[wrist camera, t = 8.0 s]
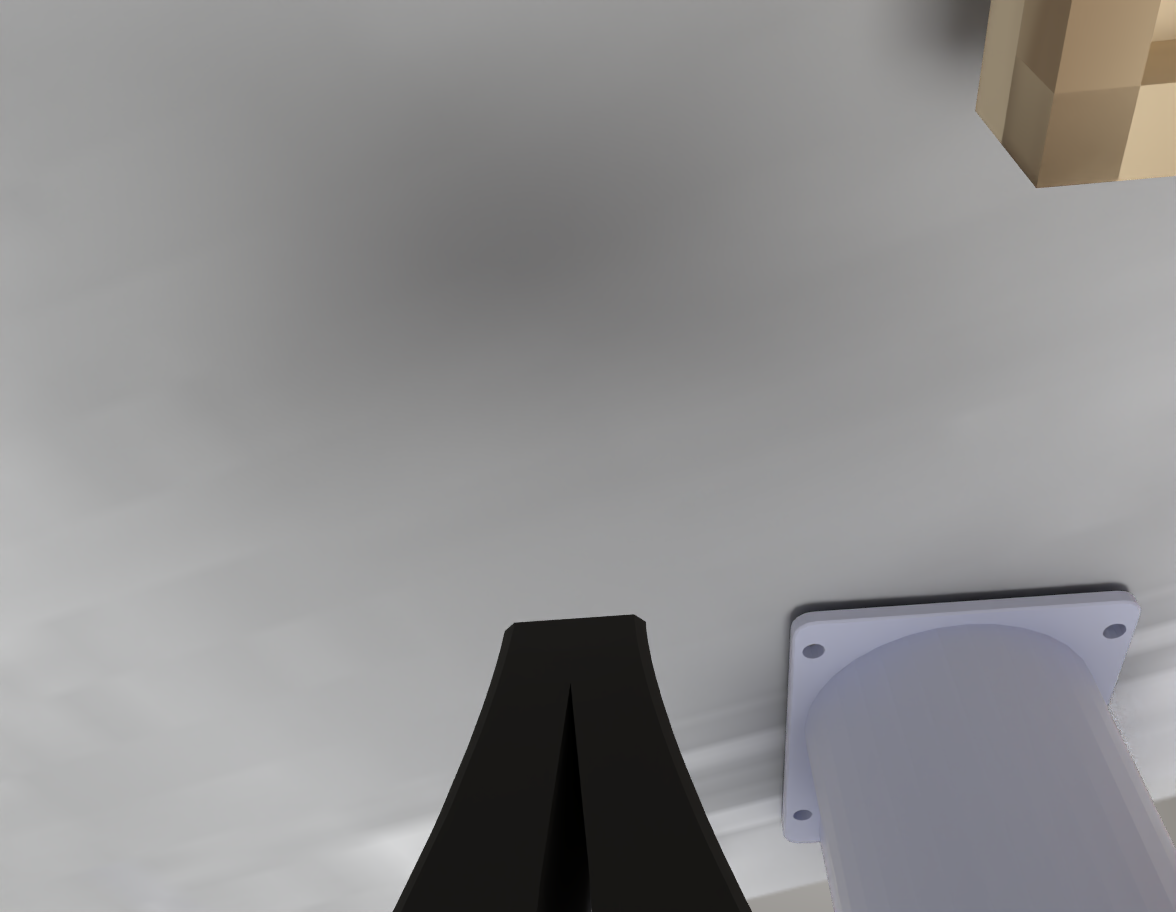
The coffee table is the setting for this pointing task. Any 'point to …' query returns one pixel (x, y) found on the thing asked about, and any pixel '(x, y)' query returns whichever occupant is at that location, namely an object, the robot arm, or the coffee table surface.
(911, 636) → the robot arm
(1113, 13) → the tan wooden slatted block
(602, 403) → the coffee table surface
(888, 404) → the coffee table surface
